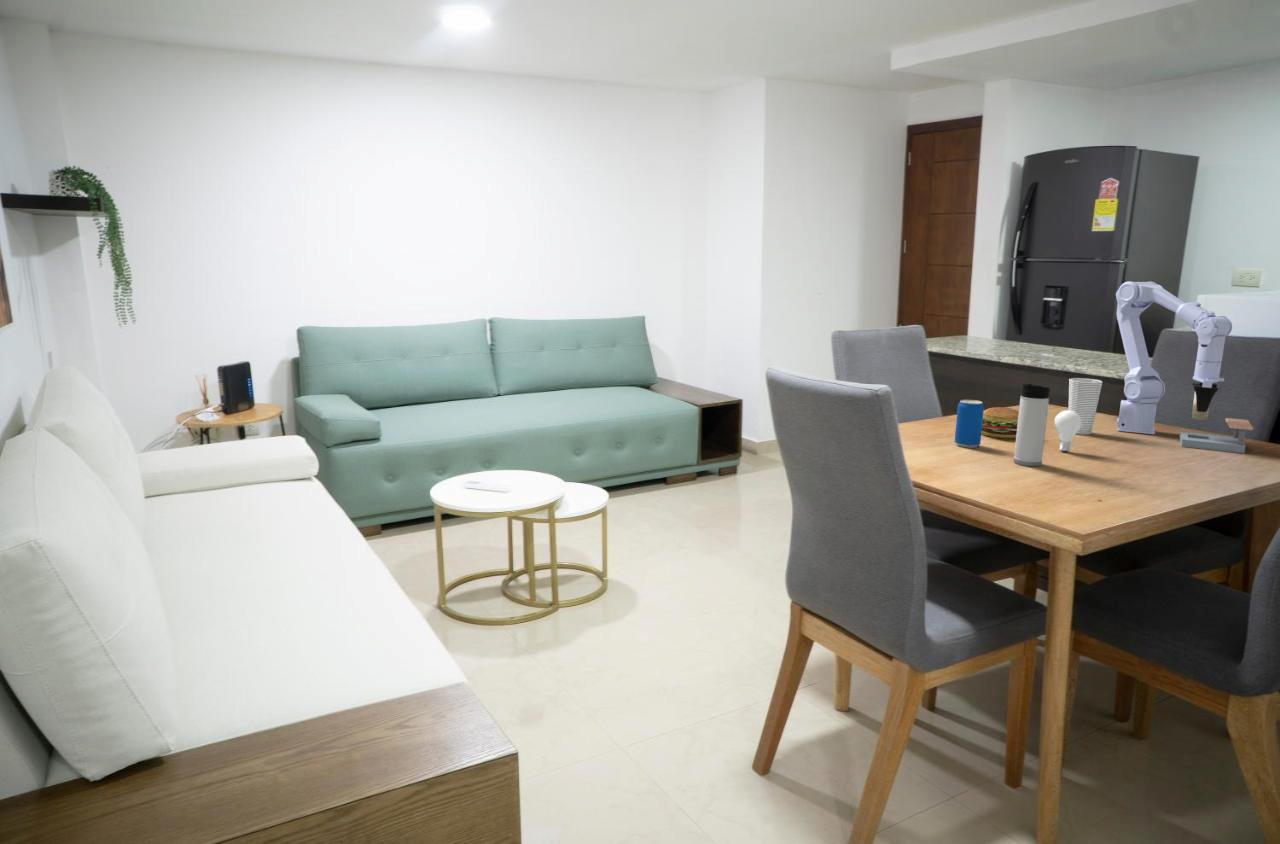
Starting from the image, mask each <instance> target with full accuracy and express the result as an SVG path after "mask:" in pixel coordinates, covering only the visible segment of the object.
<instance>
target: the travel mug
mask: <svg viewBox="0 0 1280 844" xmlns="http://www.w3.org/2000/svg"><path fill="white" fill-rule="evenodd" d="M1050 390H1051V388H1050V387H1049V386H1047V387H1045V386H1042V385H1039V384H1038V385H1037V384H1032V383H1026V382H1023V383H1021V393H1020V399H1019V408H1018V412H1019V416H1018V425H1017V434H1016V438H1015V445H1014V456H1013V463H1015V464H1016V465H1019V466H1022V467H1023V466H1025V467H1040V466H1042V464H1043V463H1042V462H1043V456H1044V446H1045V436H1046V431H1047V430H1046V428H1047V419H1048V411H1049V403H1050Z"/></svg>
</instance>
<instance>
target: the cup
mask: <svg viewBox="0 0 1280 844" xmlns="http://www.w3.org/2000/svg"><path fill="white" fill-rule="evenodd" d="M1068 380H1069V382H1068V409H1067V410H1071V411H1074V412H1076V413H1077V414H1078V415H1079V416H1080V418H1081V421H1082V424H1081V427H1080V429H1079V430H1078V431H1077V433H1076V434H1075V435H1083V436H1086V435H1088V436H1089V435H1091V434H1092V430H1093V427H1094V426H1093V425H1094V421H1095V418H1096V417H1095V416H1096V412H1097V407H1098V403H1099V398H1100V394H1101V390H1102V386H1103V381H1102V380H1100V379H1094V378H1086V377H1085V378H1084V377H1083V378H1082V377H1073V378H1072V377H1071V378H1069V379H1068Z"/></svg>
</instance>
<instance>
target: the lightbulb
mask: <svg viewBox="0 0 1280 844" xmlns="http://www.w3.org/2000/svg"><path fill="white" fill-rule="evenodd" d="M1053 424H1054V425H1053V426H1054V427H1055V429H1056V431H1057V434H1058V439H1059V446H1058V447H1059V448H1058V449H1059V450H1060V451H1061V452H1062V453H1066V452H1070V451H1071V448H1072V447H1071V446H1072V442H1073V440H1074V438H1075V437H1074V436H1075V435H1077V434H1076V433H1077V431H1078V430H1079V429H1080V427H1081V424H1082V421H1081V418H1080V416H1079V415H1078V414H1077V413H1076V412H1074V411H1071V410H1068V409H1067V410H1062V411H1060V412H1059V413H1057V414H1056V415H1055V417H1054V422H1053Z"/></svg>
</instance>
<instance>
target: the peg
mask: <svg viewBox="0 0 1280 844" xmlns="http://www.w3.org/2000/svg"><path fill="white" fill-rule="evenodd" d="M1209 409H1210V407H1209V408H1208V410H1207V412H1198V411H1197V402H1196V393H1195V392H1194V395H1193V404H1192V413H1191V419H1194V420H1201V421H1206V420H1208V418H1209Z"/></svg>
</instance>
